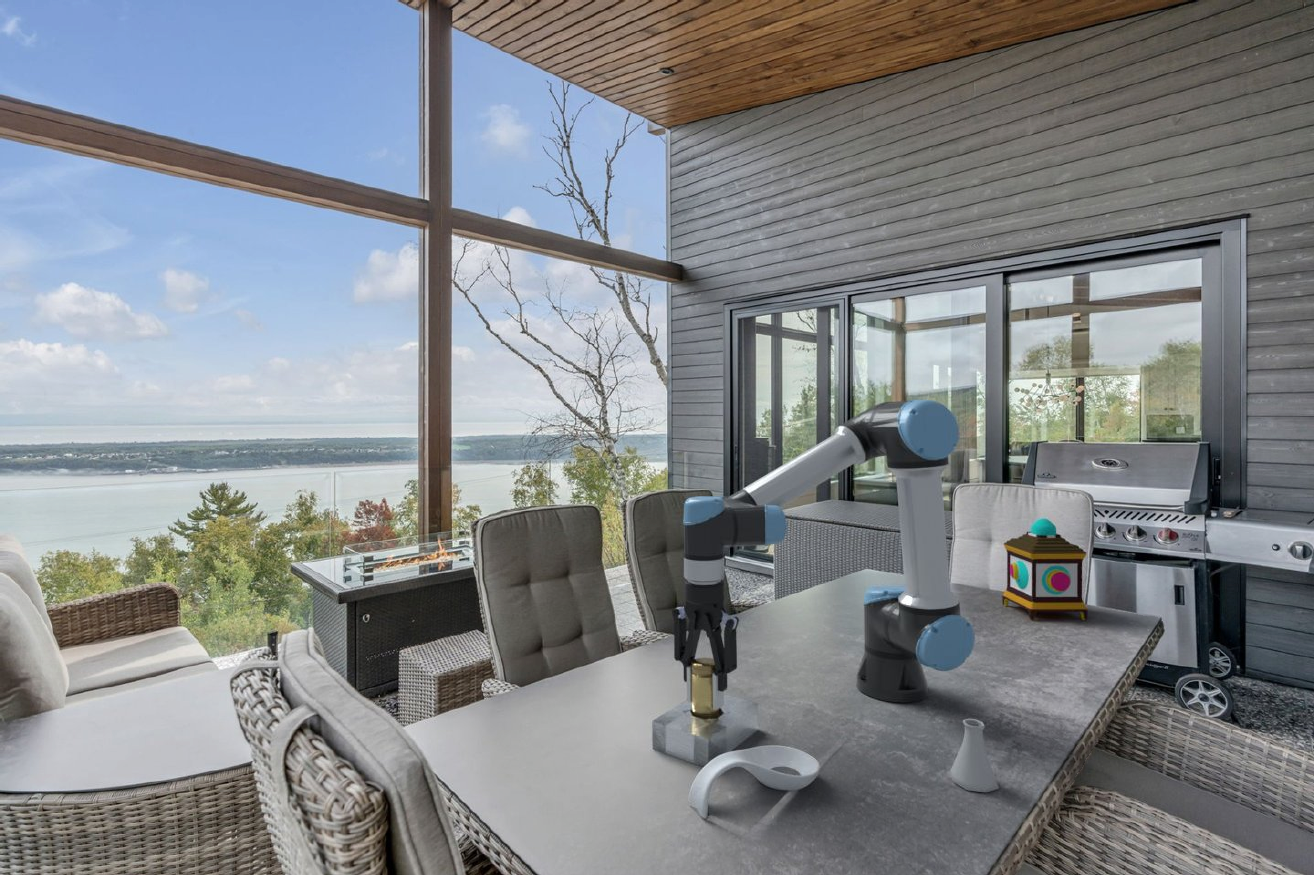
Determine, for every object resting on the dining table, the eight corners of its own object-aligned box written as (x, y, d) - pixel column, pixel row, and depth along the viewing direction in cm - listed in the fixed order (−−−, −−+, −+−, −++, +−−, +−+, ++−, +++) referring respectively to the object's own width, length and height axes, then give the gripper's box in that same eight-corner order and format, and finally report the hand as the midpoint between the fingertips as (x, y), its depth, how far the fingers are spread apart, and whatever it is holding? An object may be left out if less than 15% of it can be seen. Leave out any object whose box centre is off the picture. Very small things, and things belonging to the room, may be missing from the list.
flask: (941, 771, 113) (941, 714, 113) (982, 769, 114) (982, 712, 113) (964, 795, 106) (964, 733, 106) (1007, 793, 106) (1007, 731, 106)
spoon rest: (786, 758, 118) (786, 718, 118) (835, 789, 108) (835, 745, 108) (675, 797, 106) (675, 753, 106) (719, 836, 96) (719, 787, 96)
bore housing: (758, 734, 127) (758, 703, 127) (708, 774, 113) (708, 739, 112) (705, 718, 134) (705, 688, 134) (652, 753, 120) (652, 720, 120)
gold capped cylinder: (723, 729, 124) (723, 661, 124) (709, 739, 120) (709, 669, 120) (701, 722, 127) (701, 655, 127) (687, 732, 123) (686, 663, 123)
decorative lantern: (1095, 622, 198) (1096, 522, 197) (1029, 622, 198) (1029, 523, 197) (1056, 604, 218) (1056, 513, 217) (995, 604, 218) (995, 514, 217)
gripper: (756, 582, 121) (757, 708, 121) (676, 570, 131) (677, 685, 132) (736, 590, 115) (737, 723, 115) (653, 577, 125) (654, 698, 126)
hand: (705, 702), depth 123 cm, fingers closed on gold capped cylinder, 5 cm apart
